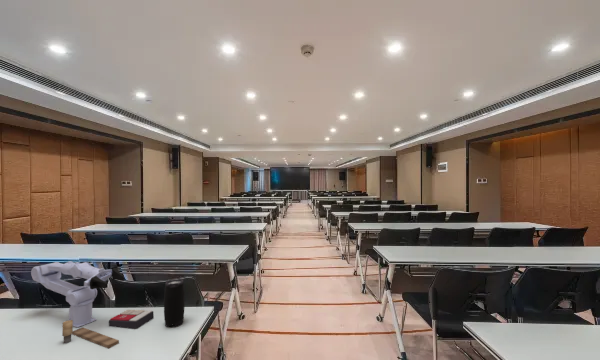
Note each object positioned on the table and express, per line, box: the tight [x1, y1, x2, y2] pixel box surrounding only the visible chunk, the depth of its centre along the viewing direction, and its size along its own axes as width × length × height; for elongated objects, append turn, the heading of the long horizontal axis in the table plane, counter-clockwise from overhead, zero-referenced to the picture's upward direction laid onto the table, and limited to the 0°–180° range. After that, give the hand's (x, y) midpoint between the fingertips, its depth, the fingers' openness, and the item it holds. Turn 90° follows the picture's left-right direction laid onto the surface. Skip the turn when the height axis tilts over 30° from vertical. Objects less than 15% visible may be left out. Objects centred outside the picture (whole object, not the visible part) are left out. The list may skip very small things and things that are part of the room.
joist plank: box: [71, 326, 120, 349], centre depth 115 cm, size 26×4×1 cm, turn 65°
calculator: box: [108, 309, 155, 330], centre depth 130 cm, size 11×4×15 cm
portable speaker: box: [163, 278, 186, 328], centre depth 128 cm, size 9×9×20 cm
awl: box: [61, 319, 74, 344], centre depth 113 cm, size 3×3×8 cm
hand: (115, 281), depth 124 cm, fingers open, 7 cm apart
